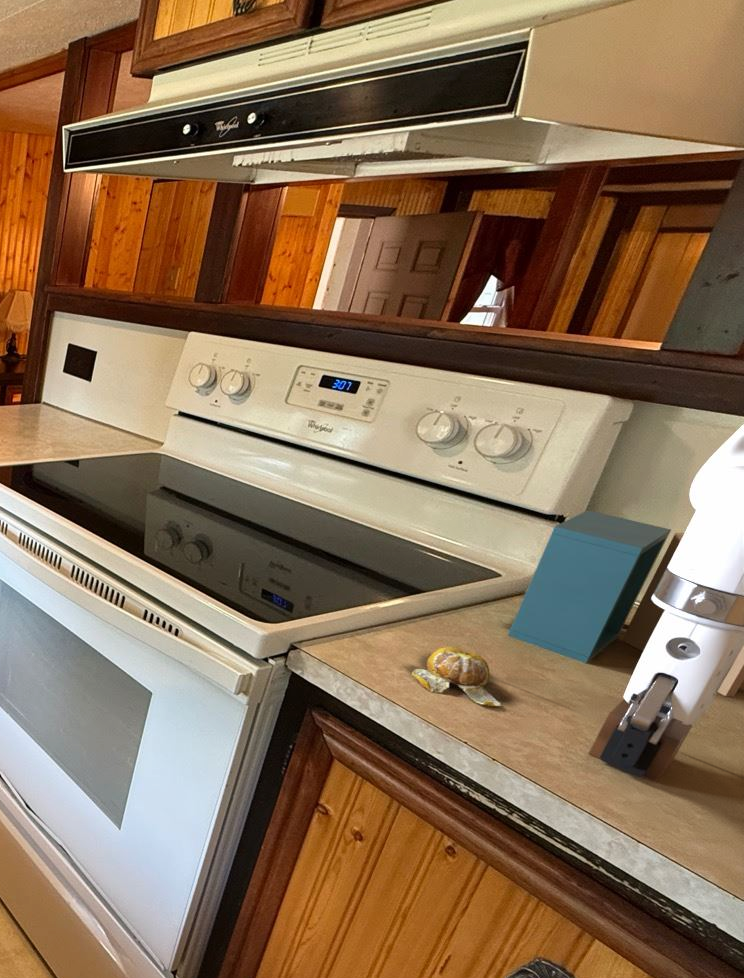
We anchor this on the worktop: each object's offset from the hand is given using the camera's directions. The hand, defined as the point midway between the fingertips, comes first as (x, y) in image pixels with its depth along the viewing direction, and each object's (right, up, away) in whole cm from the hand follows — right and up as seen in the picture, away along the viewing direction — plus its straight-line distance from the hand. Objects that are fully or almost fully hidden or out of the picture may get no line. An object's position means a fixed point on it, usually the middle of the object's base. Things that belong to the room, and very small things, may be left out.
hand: (630, 756), depth 74 cm
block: (0, 0, 0) cm, 0 cm away
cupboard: (+17, +9, +24) cm, 31 cm away
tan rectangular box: (+28, +6, +17) cm, 33 cm away
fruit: (-8, +5, +12) cm, 16 cm away
